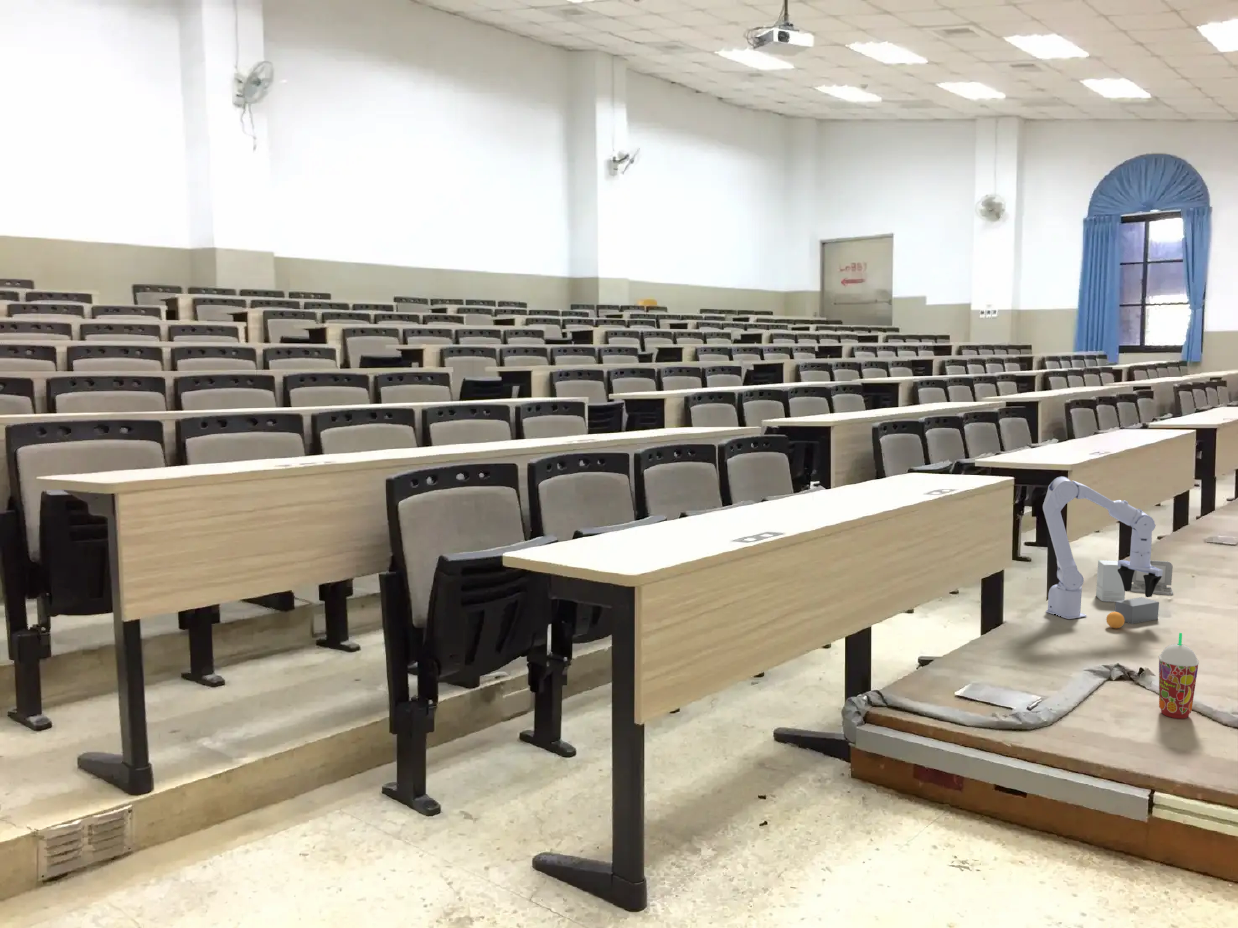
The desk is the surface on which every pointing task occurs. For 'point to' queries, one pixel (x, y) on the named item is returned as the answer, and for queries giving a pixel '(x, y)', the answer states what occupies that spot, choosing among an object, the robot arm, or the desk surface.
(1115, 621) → the ball
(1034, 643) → the desk surface
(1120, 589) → the supplement box
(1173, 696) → the smoothie
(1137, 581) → the handheld gaming console
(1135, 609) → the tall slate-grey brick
